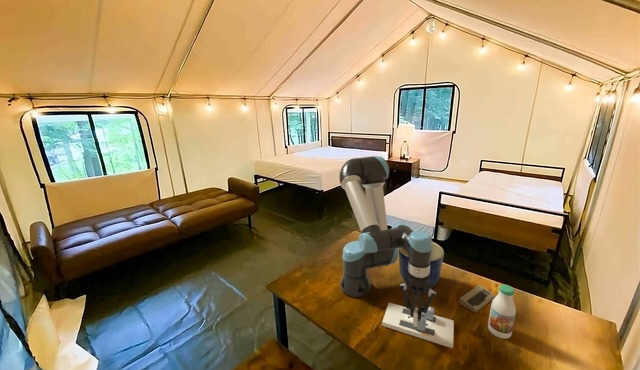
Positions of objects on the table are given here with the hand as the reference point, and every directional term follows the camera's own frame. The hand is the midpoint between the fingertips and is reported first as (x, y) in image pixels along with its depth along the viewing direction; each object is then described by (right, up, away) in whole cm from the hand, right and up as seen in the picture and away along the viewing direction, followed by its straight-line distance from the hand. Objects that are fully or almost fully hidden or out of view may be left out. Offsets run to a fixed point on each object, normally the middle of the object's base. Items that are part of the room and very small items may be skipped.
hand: (415, 323), depth 103 cm
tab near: (+2, -1, -1) cm, 2 cm away
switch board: (+2, -3, +4) cm, 5 cm away
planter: (+12, +5, +29) cm, 32 cm away
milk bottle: (+32, -2, -1) cm, 33 cm away
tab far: (+7, +1, +4) cm, 8 cm away
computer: (+33, +2, +15) cm, 37 cm away
